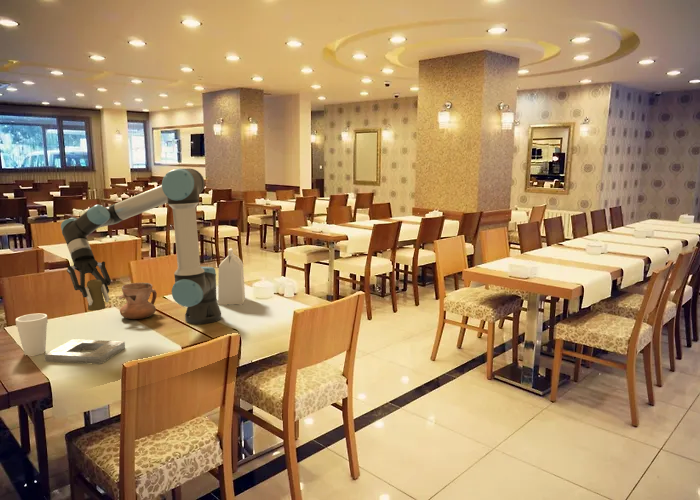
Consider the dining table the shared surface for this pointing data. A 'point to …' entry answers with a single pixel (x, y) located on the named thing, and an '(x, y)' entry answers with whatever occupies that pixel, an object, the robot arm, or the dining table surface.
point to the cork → (96, 295)
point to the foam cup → (32, 333)
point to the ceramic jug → (138, 300)
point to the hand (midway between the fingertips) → (99, 301)
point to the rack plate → (71, 355)
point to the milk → (231, 280)
